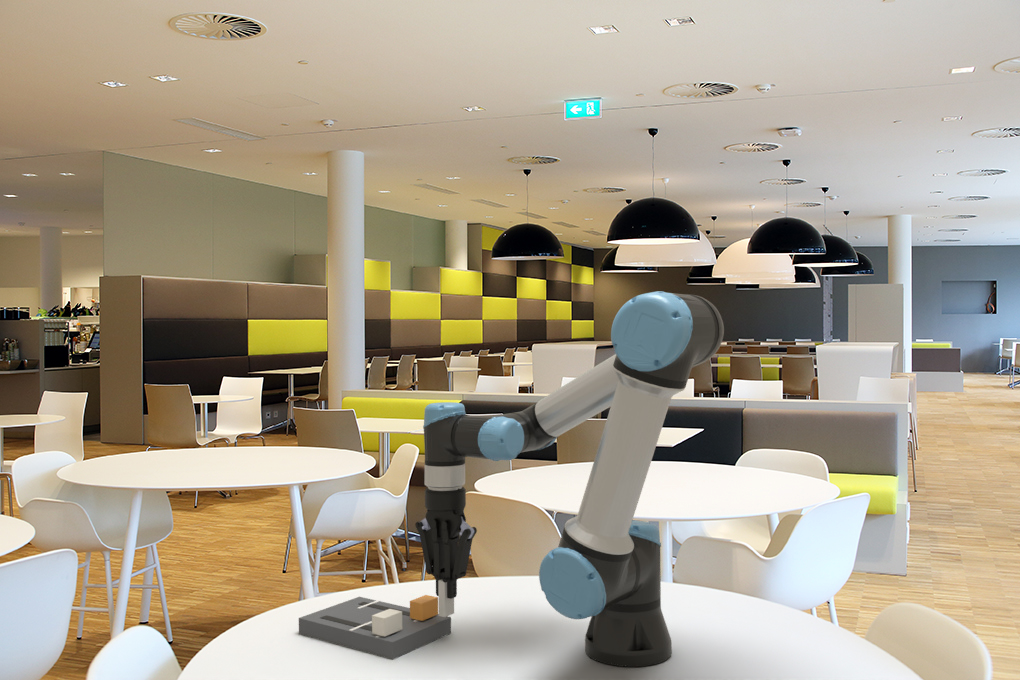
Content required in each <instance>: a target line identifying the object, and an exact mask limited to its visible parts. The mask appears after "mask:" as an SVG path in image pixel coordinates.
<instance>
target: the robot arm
mask: <svg viewBox="0 0 1020 680" xmlns="http://www.w3.org/2000/svg"><path fill="white" fill-rule="evenodd" d="M724 334H725V327H724V321H723V319H722V315H721V314H720V312H719V310H718V309H717V307H716V306H715V305H714V304H713V303H712V302H711V301H709V300H708V299H706V298H704V297H703V296H699V295H695V294H690V293H689V294H688V293H683V294H682V293H672V292H665V291H663V290H662V291H661V290H660V291H652V292H645V293H642V294H639V295H636V296H633V297H632V298H630V299H629V300H628V301H626V302H625V303H624V304H623V305H622V306H621V307H620V309H619V310H618V312H616V315H615V317H614V319H613V321H612V325H611V330H610V340H611V344H612V346H613V348H614V350H613V351H614V354H613V355H612V356H609V358H607V359H605V360H603V361H601V362H600V363H598V364H597V365H595V366H593V367H592V368H590V369H588V370H587V371H585V372H584V373H582V374H581V375H579V376H577V377H575V378H574V379H572V380H571V381H569V382H567V383H566V384H564V385H562V386H561V387H560V388H558V389H556V390H555V391H552V392H550V393H549V394H548V395H546V396H545V397H543V398H542V399H540V400H538V401H537V402H536V403H533V404H532V405H530V406H527V408H525V409H523V410H522V411H517V412H515V411H514V412H510V413H503V414H501V413H500V414H496V415H468V414H467V413H466V408H465V405H464V404H463V403H461V402H454V401H453V402H451V401H449V402H446V401H445V402H443V401H442V402H433V403H429V404H428V405H426V406H425V408H424V417H423V426H422V428H423V439H424V440H423V441H424V442H423V443H424V486H426V488H425V490H424V507H425V509H427V510H426V513H425V517H424V518H423V519H422V520H419V521H416V522H415V528H416V530H417V532H418V534H419V539H420V543H421V545H420V546H421V549H422V554H423V559H424V564H425V566H424V567H425V570H426V573H427V575H432V576H433V578H434V579H435V595H436V597H438V614H439V616H442V617H447V616H448V617H450V616H452V615H454V614H455V598H457V596H458V595H457V594H458V592H457V591H458V589H457V587H458V585H457V583H458V581H457V580H459V579H461V578H465V577H466V576H467V570H468V564H469V561H470V560H469V559H470V553H471V549H472V543H473V540H474V538H475V536H476V535H477V531H478V530H477V527H475V526H472V527H471V526H470V525H469V523H467V518H466V516H465V508H466V503H467V502H466V500H467V499H466V498H467V497H466V496H467V494H466V493H467V491H466V488H465V487H464V485H465V484H466V458H475V459H483V460H485V459H486V460H490V461H495V462H498V461H513V460H514V459H516V458H517V457H518V455H520V453H525V452H531V451H540V450H543V449H545V448H548V447H549V446H552V445H553V444H554V443H555V442H556V441H557V438H558V437H559V436H561V435H563V434H565V433H566V432H568V431H569V430H570V431H571V430H572V429H573V428H575V427H577V426H579V425H580V424H582V423H584V422H586V421H588V420H590V419H591V418H593V417H594V416H596V415H598V414H600V413H602V412H603V411H605V410H607V409H609V408H610V409H609V411H608V415H607V418H606V421H605V424H604V427H603V430H602V434H601V438H600V441H599V444H598V448H597V450H596V454H595V457H594V461H593V464H592V468H591V470H590V474H589V477H588V480H587V483H586V486H585V489H584V493H583V496H582V498H581V504H580V506H579V509H578V512H577V515H576V516H574V517H572V518H569V519H568V520H567V521H566V522H565V524H564V526H563V530H562V533H561V536H560V541H559V543H558V546H557V547H556V548H553V549H551V550H550V551H549V552H547V554H546V555H545V556H544V557H543V559H542V560H541V563H540V566H539V570H538V573H539V574H538V578H539V579H538V580H539V585H540V588H541V591H542V592H543V593H544V595H545V599H546V601H547V602H548V603H549V605H550V606H551V607H552V608H553V609H554V610H555V611H556V612H558V613H559V614H560V615H562V617H563V616H564V617H565V618H568V619H571V620H583V619H588V618H590V620H589V624H588V625H587V630H586V633H585V636H584V650H585V654H586V655H587V656H588V657H590V659H593V660H595V661H597V662H600V663H603V664H606V665H612V666H617V667H618V666H619V667H635V668H636V667H646V666H652V665H656V664H661V663H663V662H664V661H666V660H669V658H670V657H671V656H672V650H673V649H672V638H671V636H670V631H669V629H668V625H667V623H666V620H665V617H664V614H663V611H662V604H661V603H662V601H661V600H662V599H661V598H662V597H661V596H662V595H661V594H662V592H661V590H662V589H661V588H662V587H661V586H662V585H661V547H662V542H661V541H660V540H661V539H660V531H659V530H660V529H659V527H658V526H657V525H655V524H654V523H651V522H648V521H641V520H636V519H635V520H634V516H635V513H636V510H637V506H638V504H639V501H640V497H641V494H642V492H643V488H644V484H645V482H646V480H647V475H648V473H649V470H650V467H651V463H652V460H653V457H654V454H655V451H656V447H657V445H658V442H659V439H660V434H661V431H662V429H663V425H664V423H665V419H666V415H667V413H668V409H669V407H670V404H671V401H672V398H673V396H674V395H677V394H679V393H681V392H683V391H685V388H686V387H687V385H688V384H687V383H688V381H689V377H690V374H691V371H692V368H695V367H697V366H700V365H702V364H704V363H706V362H707V361H709V360H711V358H712V357H714V355H715V354H716V353H718V351H719V349H720V347H721V345H722V342H723V341H724V340H723V339H724Z"/></svg>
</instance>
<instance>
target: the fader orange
mask: <svg viewBox="0 0 1020 680" xmlns="http://www.w3.org/2000/svg"><path fill="white" fill-rule="evenodd" d="M409 608H410V618H412V619H416V620H420V621H423V620H426V619H428V618H430V617H433V616H435V615H438V614H439V596H432V595H428V594H425V595H421V596H419V597H416V598H414V599H411V600H409Z"/></svg>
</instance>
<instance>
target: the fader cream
mask: <svg viewBox="0 0 1020 680" xmlns="http://www.w3.org/2000/svg"><path fill="white" fill-rule="evenodd" d="M399 630H402V611H398V610H394V609H388V610H385V611H382V612H380V613H377V614H375V615H372V634H376V635H380V636H384V637H385V636H387V635H390V634H392V633H395V632H397V631H399Z"/></svg>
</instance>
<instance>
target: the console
mask: <svg viewBox="0 0 1020 680" xmlns="http://www.w3.org/2000/svg"><path fill="white" fill-rule="evenodd" d="M388 609H394V610H398V611H402V630H399V631H397V632H395V633H392V634H390V635H387V636H385V637H384V636H380V635H376V634H372V615H375V614H377V613H380V612H382V611H385V610H388ZM451 633H452V617H451V616H447V617H442V616H439V613H438V615H435V616H433V617H430V618H428V619H426V620H423V621H420V620H416V619H412V618H410V607H407V606H402V605H398V604H395V603H389V602H385V601H381V600H377V599H371V598H367V597H362V596H358V597H357V596H356V597H354V598H352V599H350V600H349V599H348V600H345V601H343V602H340V603H337V604H335V605H332V606H329V607H326V608H323V609H319V610H318V611H314V612H311V613H309V614H306V615H303V616H301V617H298V635H301V636H306V637H308V638H309V637H310V638H313V639H316V640H321V641H324V642H327V643H331V644H335V645H338V646H342V647H347V648H349V649H353V650H357V651H360V652H364V653H368V654H371V655H374V656H379V657H382V658H386V659H389V660H395V659H397V658H400V657H402V656H403V655H405V654H408V653H410V652H412V651H415V650H417V649H419V648H421V647H423V646H426V645H428V644H430V643H432V642H434V641H436V640H439V639H441V638H443V637H445V636H448V635H450V634H451Z"/></svg>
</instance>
